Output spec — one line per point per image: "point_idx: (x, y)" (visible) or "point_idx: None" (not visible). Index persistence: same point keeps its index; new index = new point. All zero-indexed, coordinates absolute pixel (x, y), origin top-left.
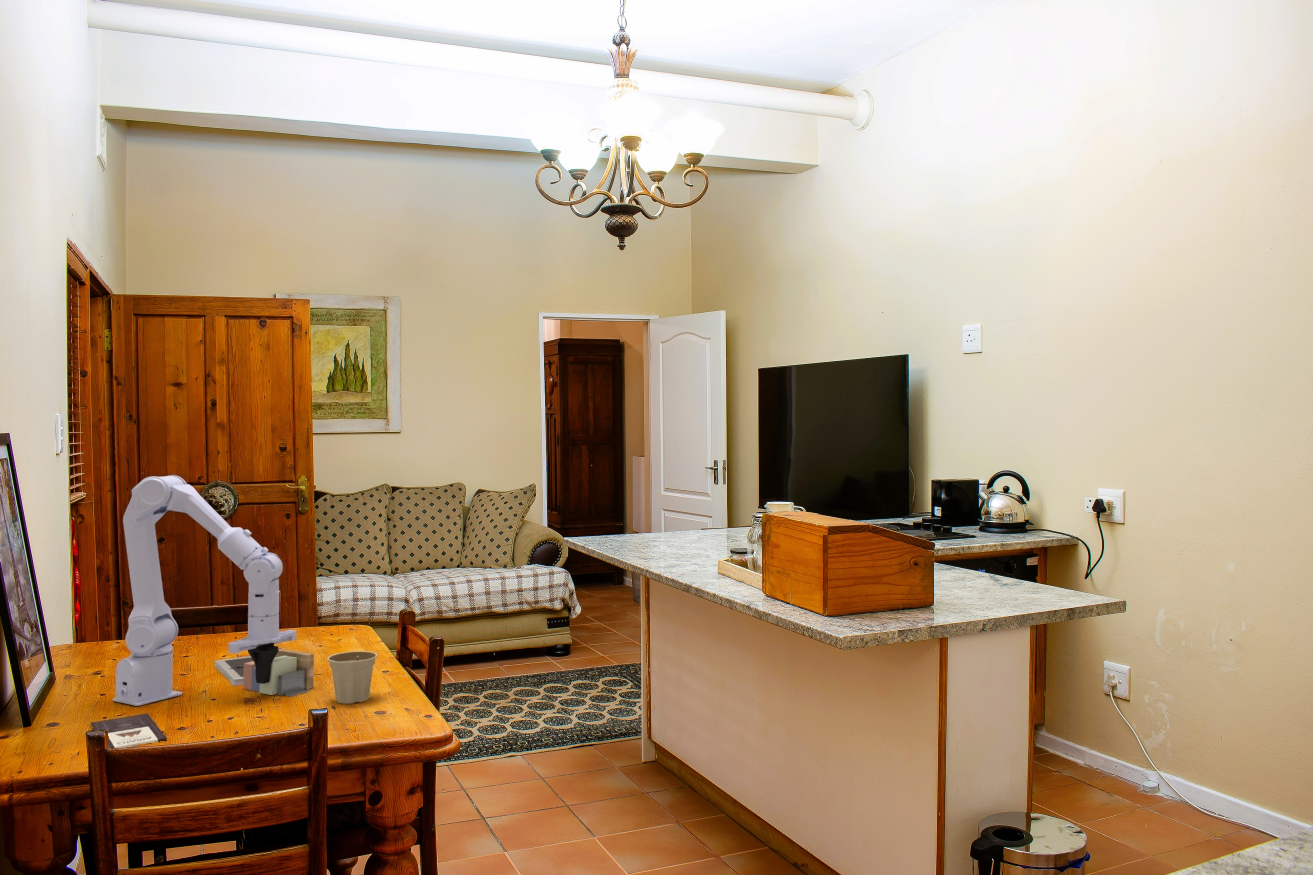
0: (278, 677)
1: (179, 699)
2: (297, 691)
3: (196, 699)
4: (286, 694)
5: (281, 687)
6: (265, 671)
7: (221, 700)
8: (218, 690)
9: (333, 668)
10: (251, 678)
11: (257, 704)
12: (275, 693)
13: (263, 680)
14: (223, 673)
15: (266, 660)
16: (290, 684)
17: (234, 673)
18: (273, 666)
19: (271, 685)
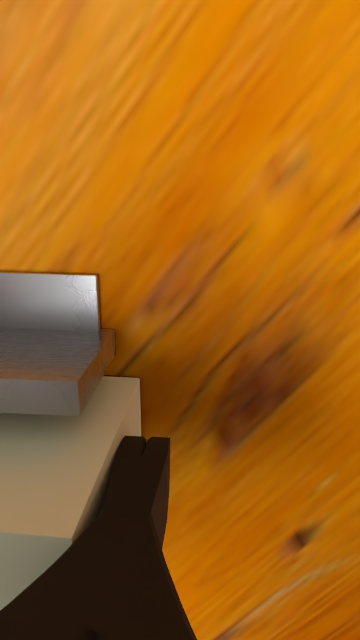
0: (84, 406)
1: (353, 629)
2: (25, 302)
3: (330, 586)
4: (98, 308)
5: (102, 348)
6: (156, 489)
7: (303, 502)
8: (192, 608)
9: None
10: None
11: (293, 310)
12: (113, 377)
13: (168, 450)
14: None
15: (153, 573)
16: (34, 346)
17: None
18: (77, 499)
19: (127, 408)
